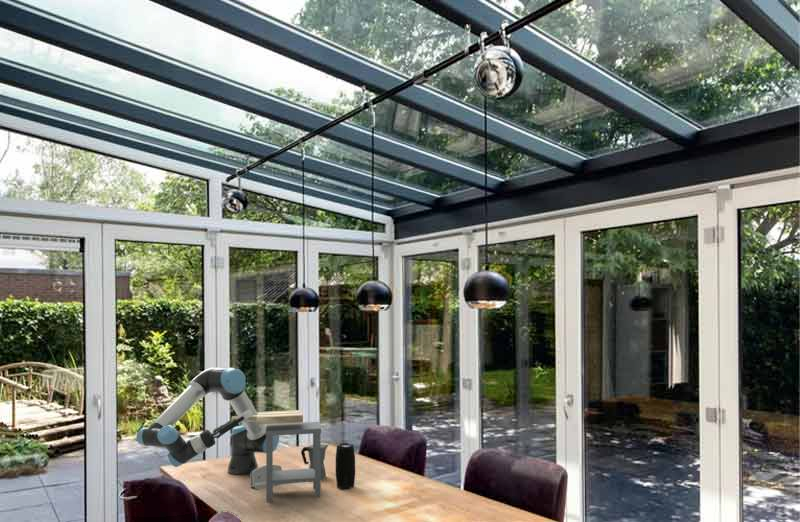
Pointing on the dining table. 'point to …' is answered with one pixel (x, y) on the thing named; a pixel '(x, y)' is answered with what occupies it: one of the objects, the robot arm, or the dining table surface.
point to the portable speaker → (345, 466)
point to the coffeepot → (310, 451)
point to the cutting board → (276, 417)
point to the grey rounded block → (261, 476)
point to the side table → (296, 474)
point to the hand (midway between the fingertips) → (250, 412)
